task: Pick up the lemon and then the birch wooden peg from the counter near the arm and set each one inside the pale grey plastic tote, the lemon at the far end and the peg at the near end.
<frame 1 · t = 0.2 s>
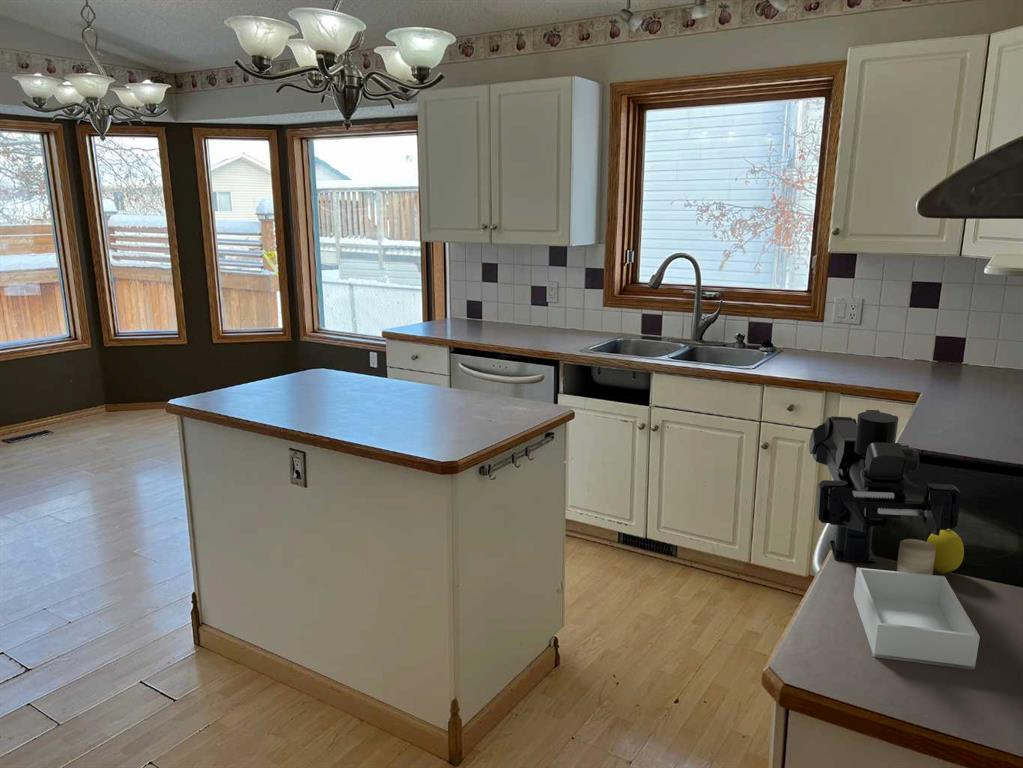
hand: (900, 530, 102), 16 cm above the counter, tool horizontal, fingers open, 9 cm apart
lemon: (940, 574, 123), on the counter
tote: (908, 630, 107), on the counter
birch peg: (912, 586, 119), on the counter
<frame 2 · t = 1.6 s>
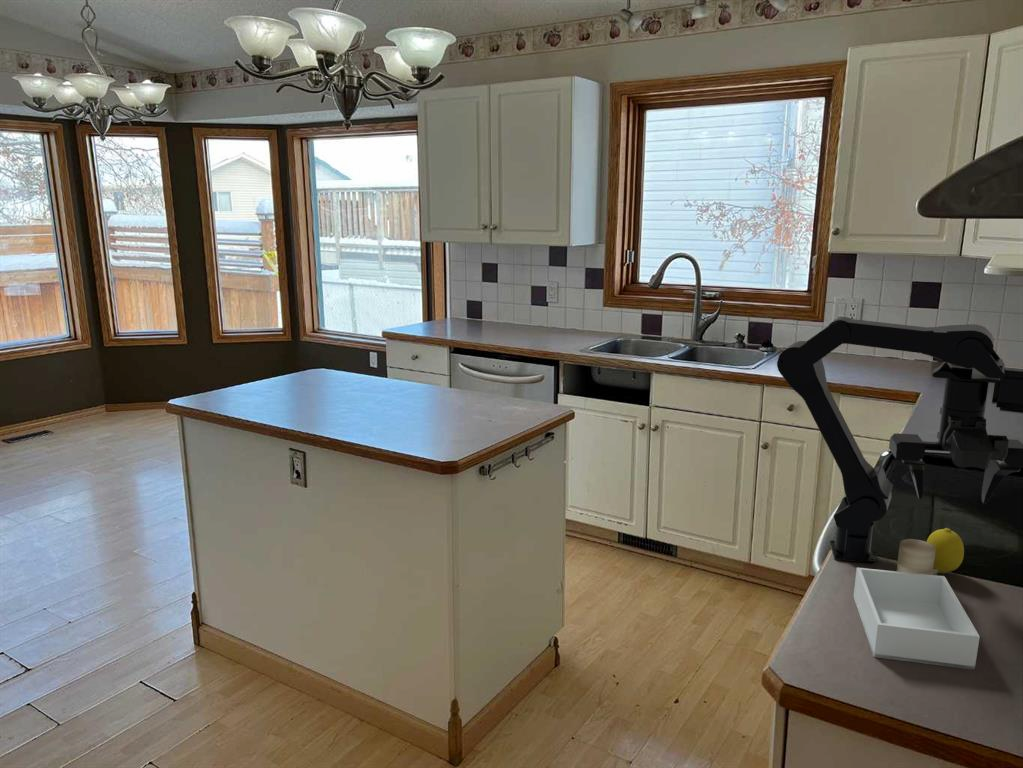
hand: (951, 500, 120), 13 cm above the counter, tool pointing down, fingers open, 9 cm apart
nothing on the counter moved.
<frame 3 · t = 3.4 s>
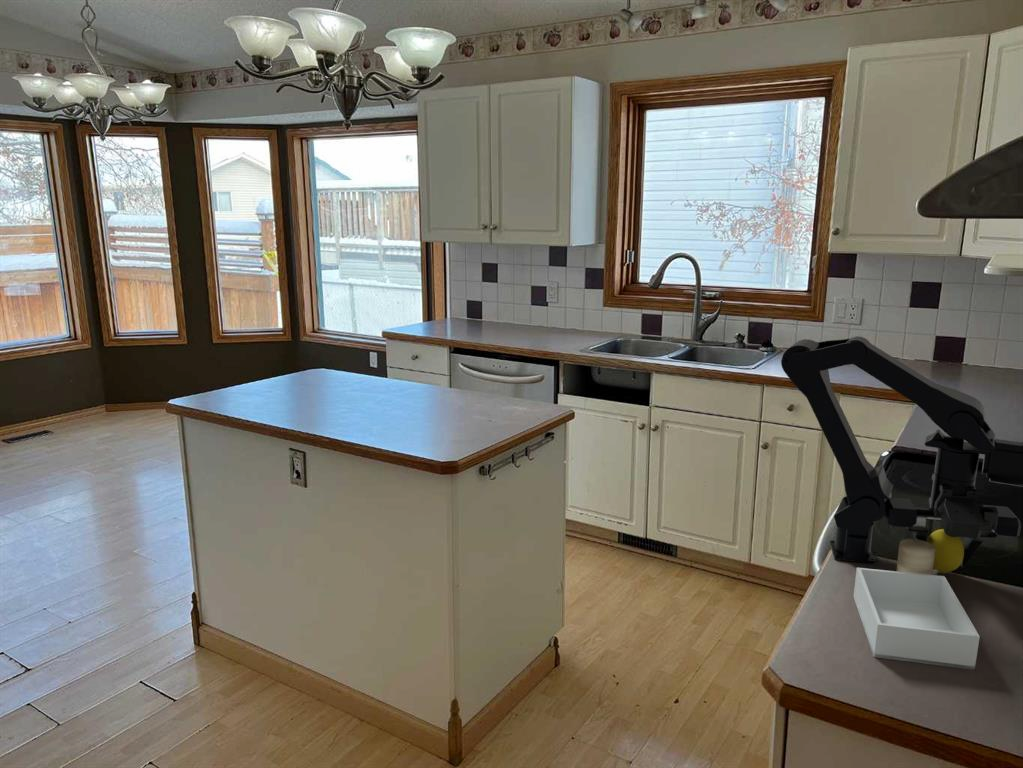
hand: (942, 564, 123), 2 cm above the counter, tool pointing down, fingers closed on lemon, 5 cm apart
lemon: (940, 574, 123), on the counter, touching gripper
everything else where it was.
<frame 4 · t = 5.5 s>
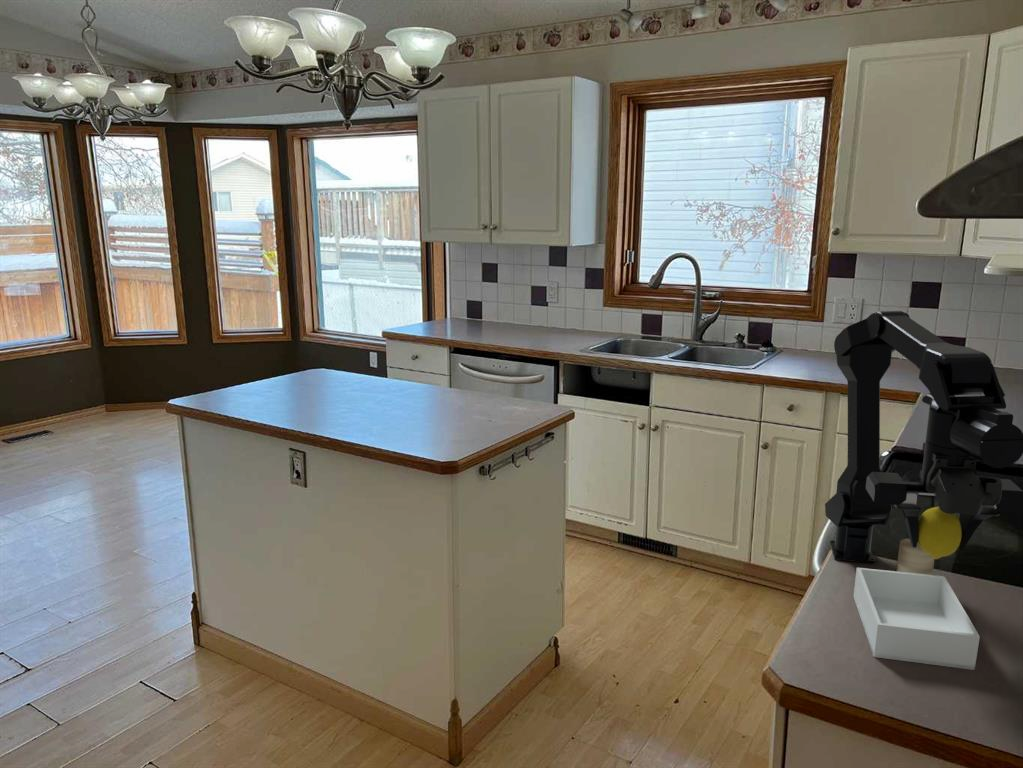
hand: (936, 548, 105), 12 cm above the counter, tool pointing down, fingers closed on lemon, 5 cm apart
lemon: (935, 560, 106), point 11 cm above the counter, touching gripper
everything else where it was.
when the fingers open (4 cm above the counter, at t = 7.6 s): lemon drops 2 cm, resting on tote.
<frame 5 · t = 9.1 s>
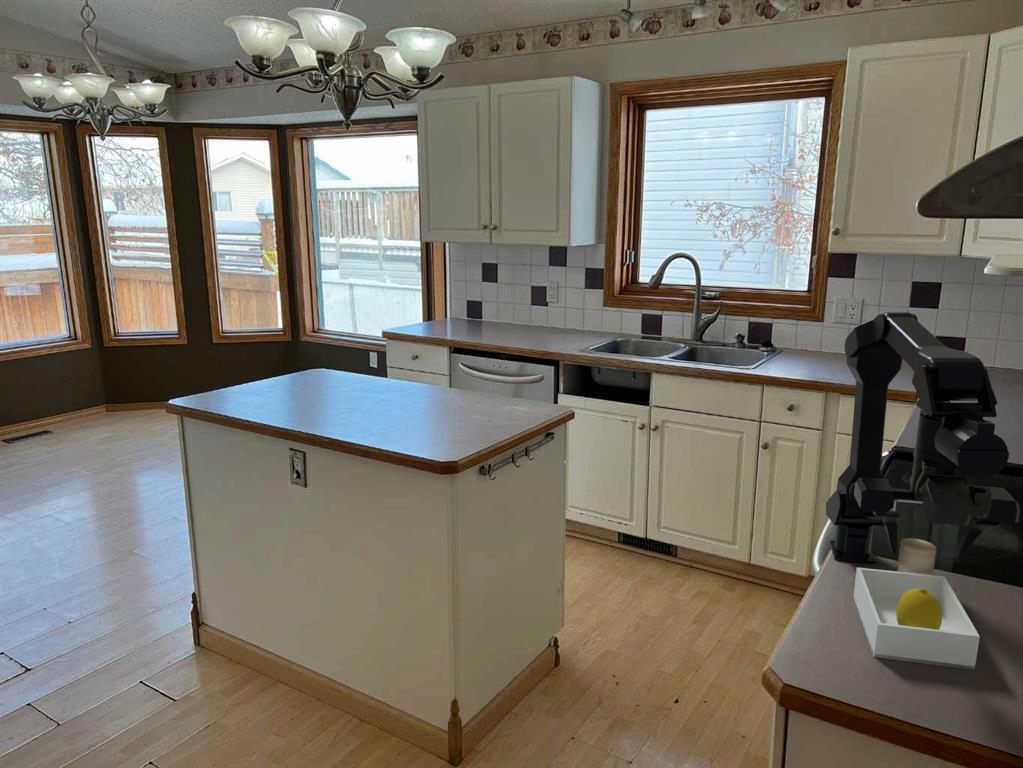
hand: (925, 556, 102), 13 cm above the counter, tool pointing down, fingers open, 8 cm apart
lemon: (915, 641, 104), resting on tote
everything else where it was.
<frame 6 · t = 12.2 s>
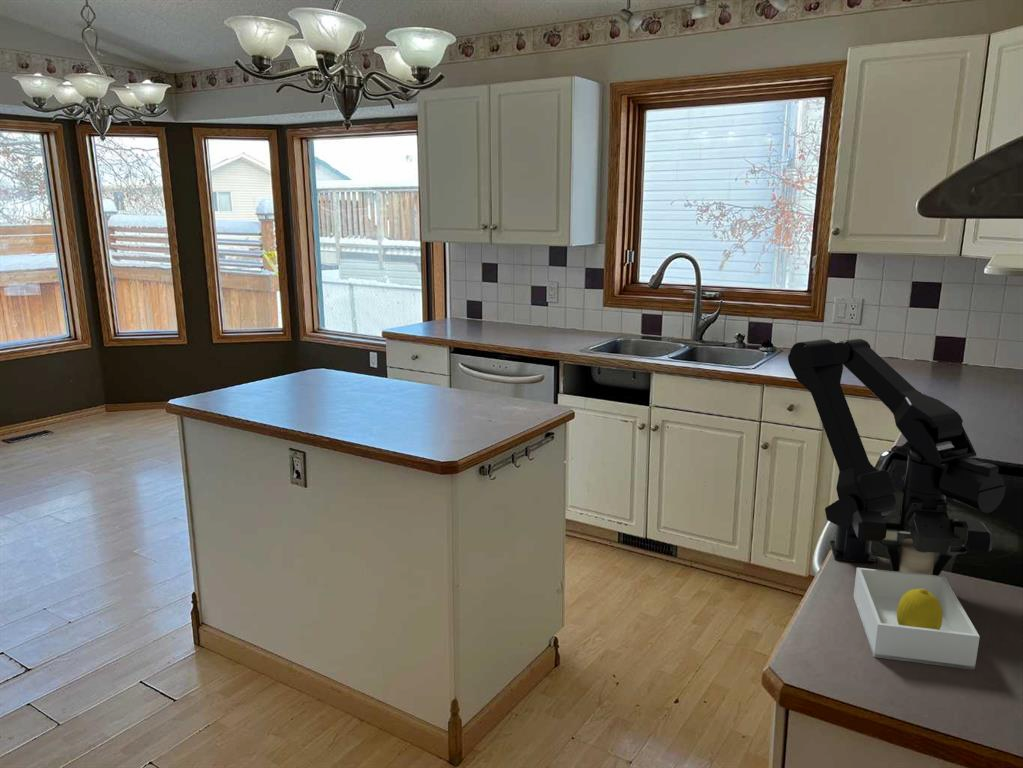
hand: (913, 579, 119), 1 cm above the counter, tool pointing down, fingers closed on birch peg, 5 cm apart
birch peg: (912, 585, 119), on the counter, touching gripper
everything else where it was.
when the fingers open (3 cm above the counter, at t = 16.2 s): birch peg drops 1 cm, resting on tote.
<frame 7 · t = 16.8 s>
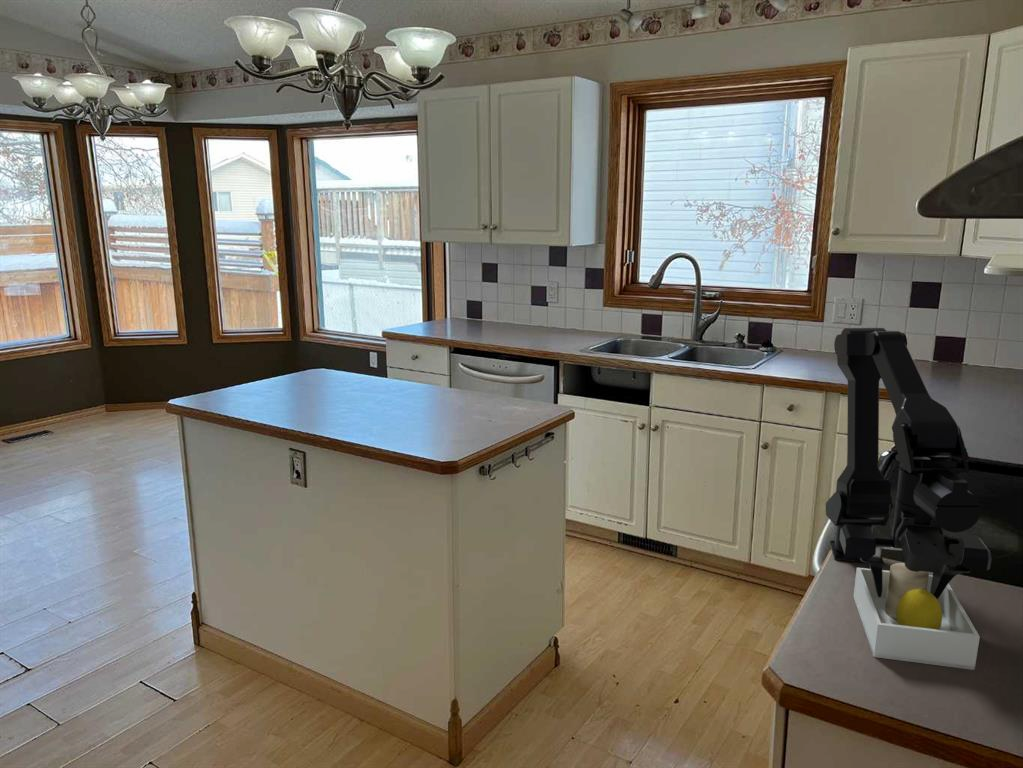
hand: (905, 598, 110), 3 cm above the counter, tool pointing down, fingers open, 7 cm apart
birch peg: (903, 613, 111), point 1 cm above the counter, touching tote
everything else where it was.
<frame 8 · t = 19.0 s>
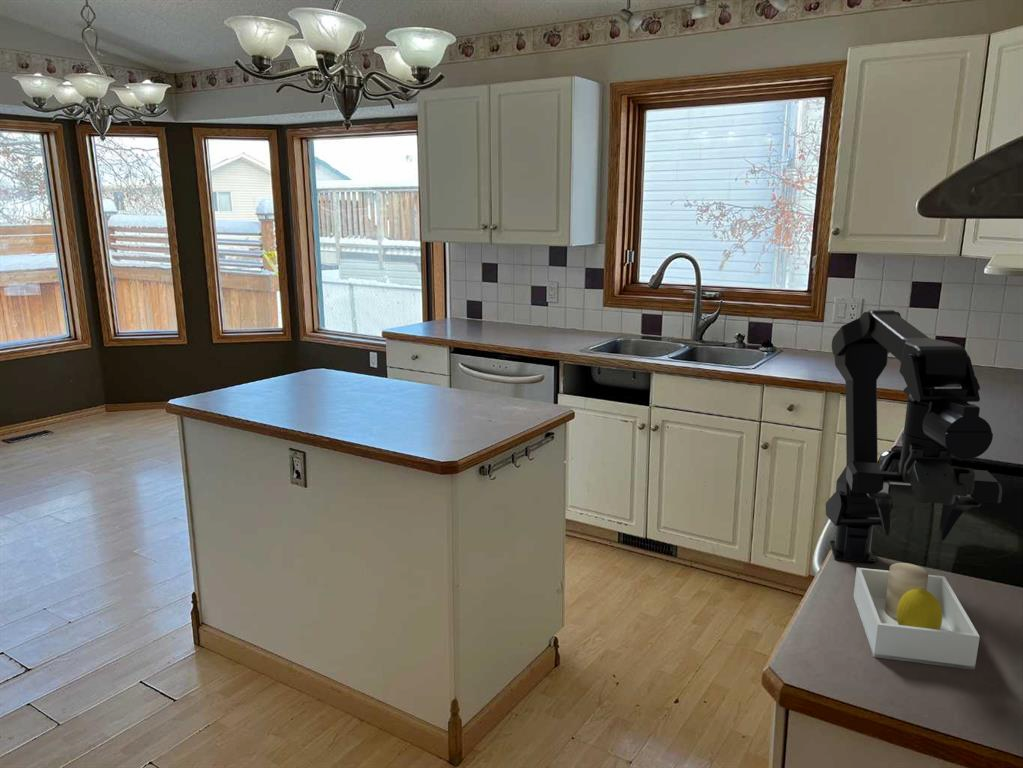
hand: (913, 536, 107), 13 cm above the counter, tool pointing down, fingers open, 7 cm apart
nothing on the counter moved.
at the end: lemon inside the target area on the tote (3.4 cm from its centre), point 0.3 cm above the tote's base; birch peg inside the target area on the tote (3.5 cm from its centre), point 0.5 cm above the tote's base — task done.
